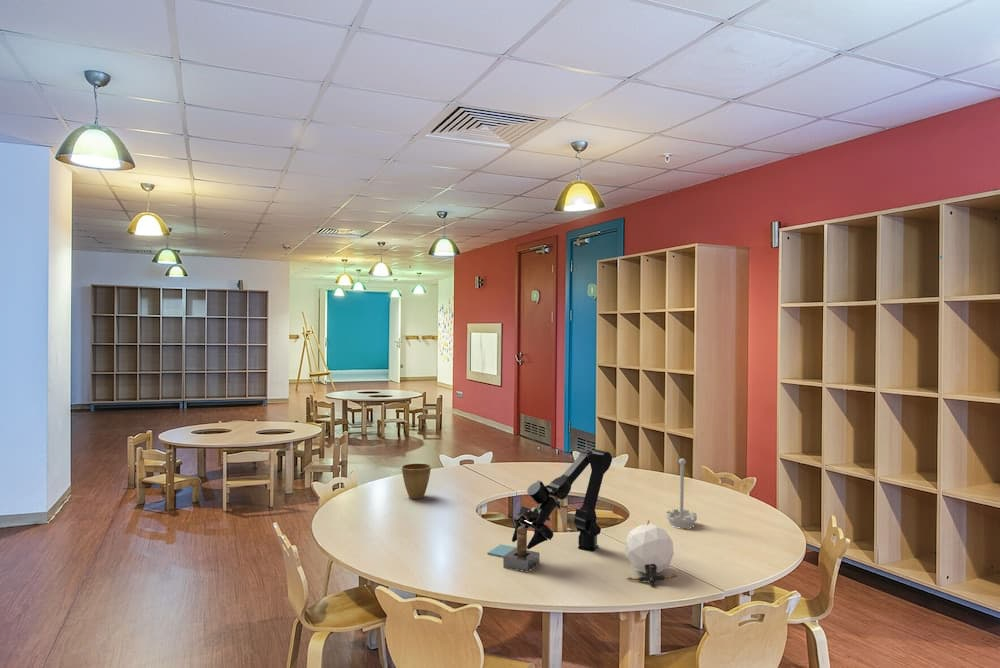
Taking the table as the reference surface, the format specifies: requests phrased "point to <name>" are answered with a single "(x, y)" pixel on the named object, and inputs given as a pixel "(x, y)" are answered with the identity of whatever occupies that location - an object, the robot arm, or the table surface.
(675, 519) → the flag stand
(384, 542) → the table surface
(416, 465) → the plant pot
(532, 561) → the block
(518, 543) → the brown wooden pin
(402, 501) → the table surface
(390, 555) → the table surface
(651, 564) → the white faceted globe lamp
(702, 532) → the table surface
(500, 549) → the blue square plate
